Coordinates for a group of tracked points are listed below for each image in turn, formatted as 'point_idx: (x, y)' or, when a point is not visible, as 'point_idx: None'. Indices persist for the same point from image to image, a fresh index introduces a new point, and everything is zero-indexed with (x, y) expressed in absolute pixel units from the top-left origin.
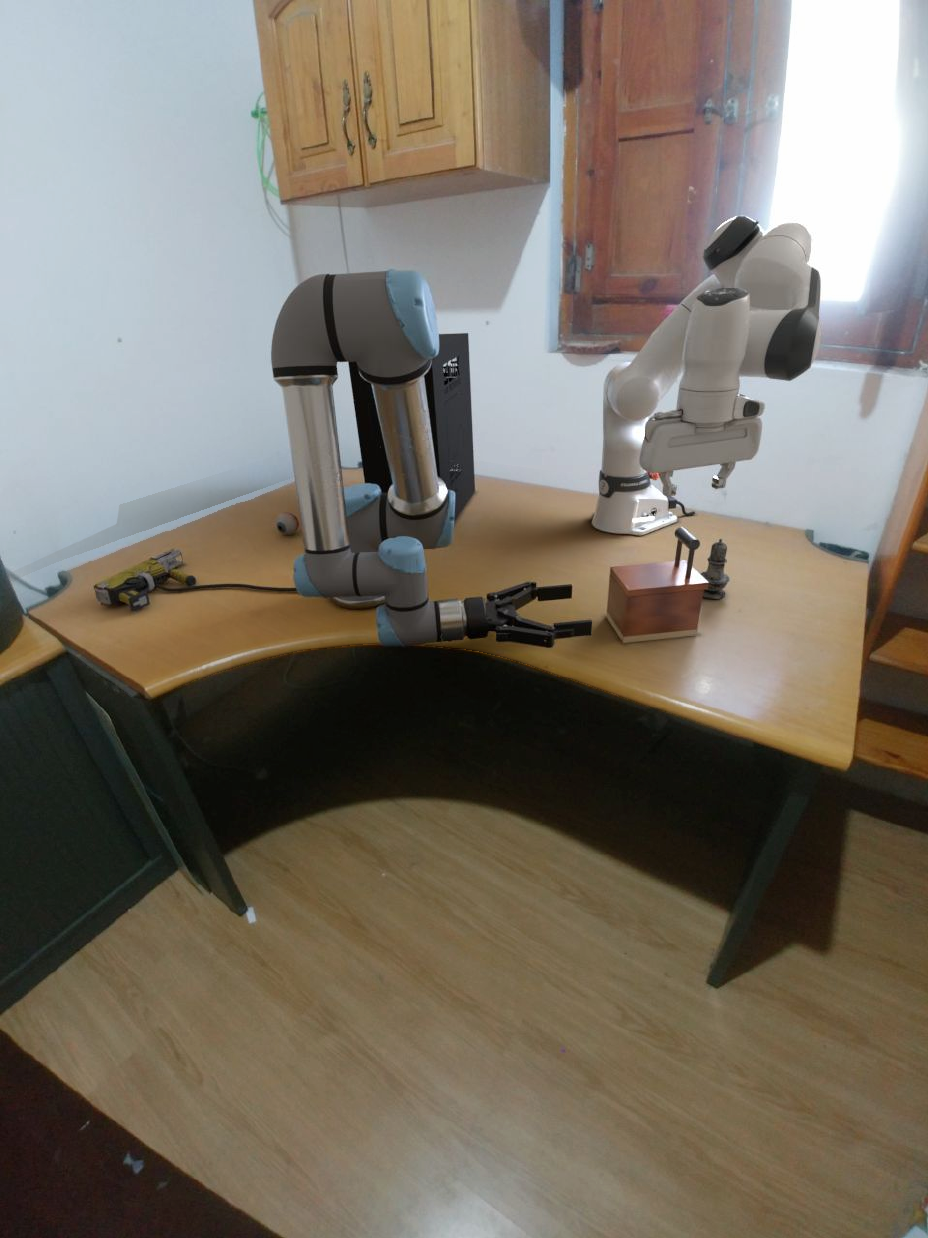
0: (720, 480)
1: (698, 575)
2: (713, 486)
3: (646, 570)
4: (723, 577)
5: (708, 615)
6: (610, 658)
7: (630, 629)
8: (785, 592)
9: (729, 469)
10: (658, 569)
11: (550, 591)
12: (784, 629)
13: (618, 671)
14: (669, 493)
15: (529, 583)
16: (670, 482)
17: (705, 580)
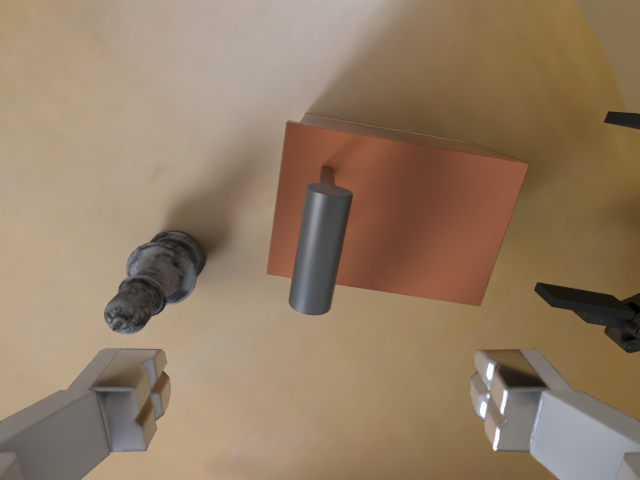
0: (125, 382)
1: (289, 173)
2: (166, 384)
3: (405, 253)
4: (145, 258)
5: (232, 179)
6: (527, 95)
7: (465, 143)
8: (13, 207)
9: (4, 445)
10: (371, 247)
11: (600, 302)
12: (103, 64)
13: (544, 41)
14: (537, 357)
15: (631, 343)
16: (596, 413)
17: (288, 136)
